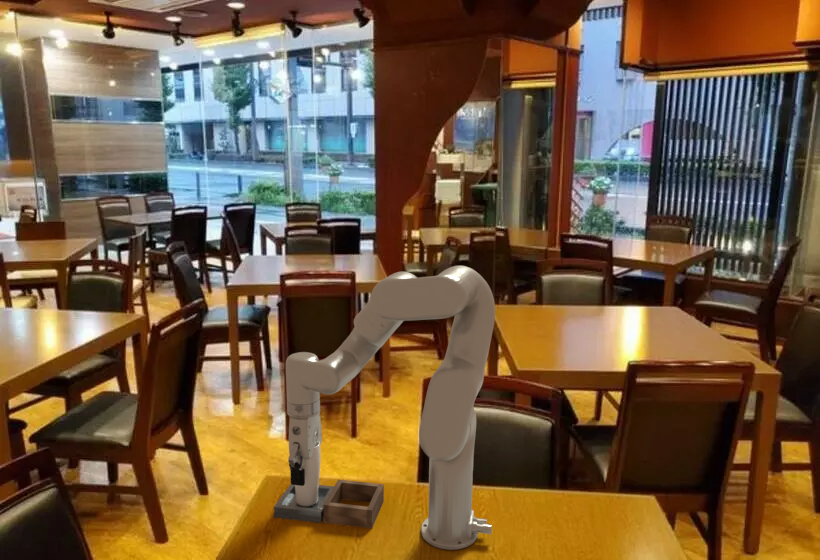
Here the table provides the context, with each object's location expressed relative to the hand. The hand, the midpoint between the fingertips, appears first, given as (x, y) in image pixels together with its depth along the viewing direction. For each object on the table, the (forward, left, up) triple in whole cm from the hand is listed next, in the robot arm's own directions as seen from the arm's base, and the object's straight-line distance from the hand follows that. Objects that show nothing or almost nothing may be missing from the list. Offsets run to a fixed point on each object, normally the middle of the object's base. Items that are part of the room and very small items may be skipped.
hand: (305, 474), depth 146 cm
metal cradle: (0, 0, -8) cm, 8 cm away
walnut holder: (-12, 0, -8) cm, 15 cm away
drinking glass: (0, 0, -7) cm, 8 cm away
